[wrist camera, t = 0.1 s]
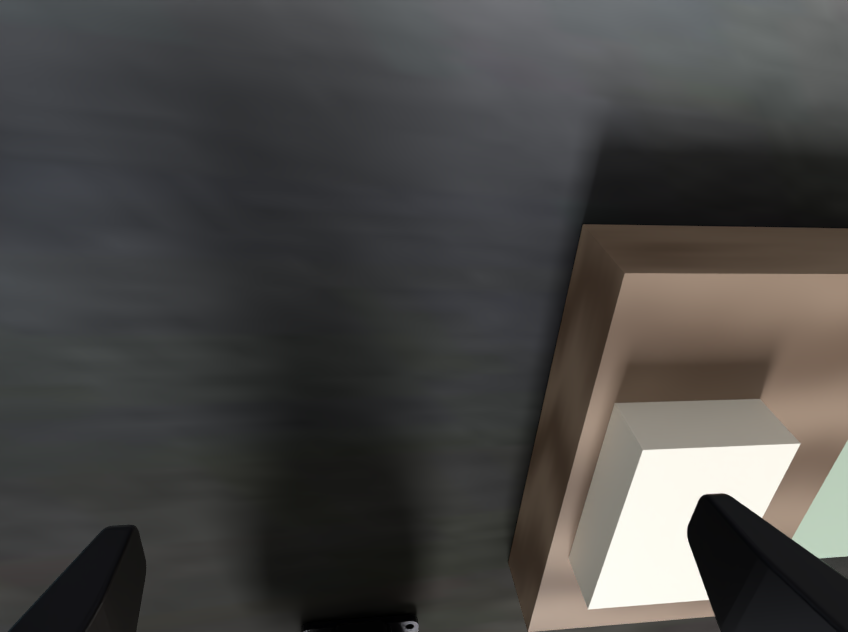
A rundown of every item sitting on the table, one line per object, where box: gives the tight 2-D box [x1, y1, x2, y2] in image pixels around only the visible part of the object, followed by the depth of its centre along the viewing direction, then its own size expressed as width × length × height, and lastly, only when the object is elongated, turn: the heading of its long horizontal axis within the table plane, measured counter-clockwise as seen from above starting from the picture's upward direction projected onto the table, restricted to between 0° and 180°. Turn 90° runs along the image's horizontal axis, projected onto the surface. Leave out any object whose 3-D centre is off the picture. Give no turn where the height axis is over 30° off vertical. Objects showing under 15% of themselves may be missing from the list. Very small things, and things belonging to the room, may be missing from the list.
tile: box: [569, 399, 801, 609], centre depth 25 cm, size 9×6×2 cm, turn 176°
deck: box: [508, 224, 848, 632], centre depth 28 cm, size 20×12×4 cm, turn 176°
